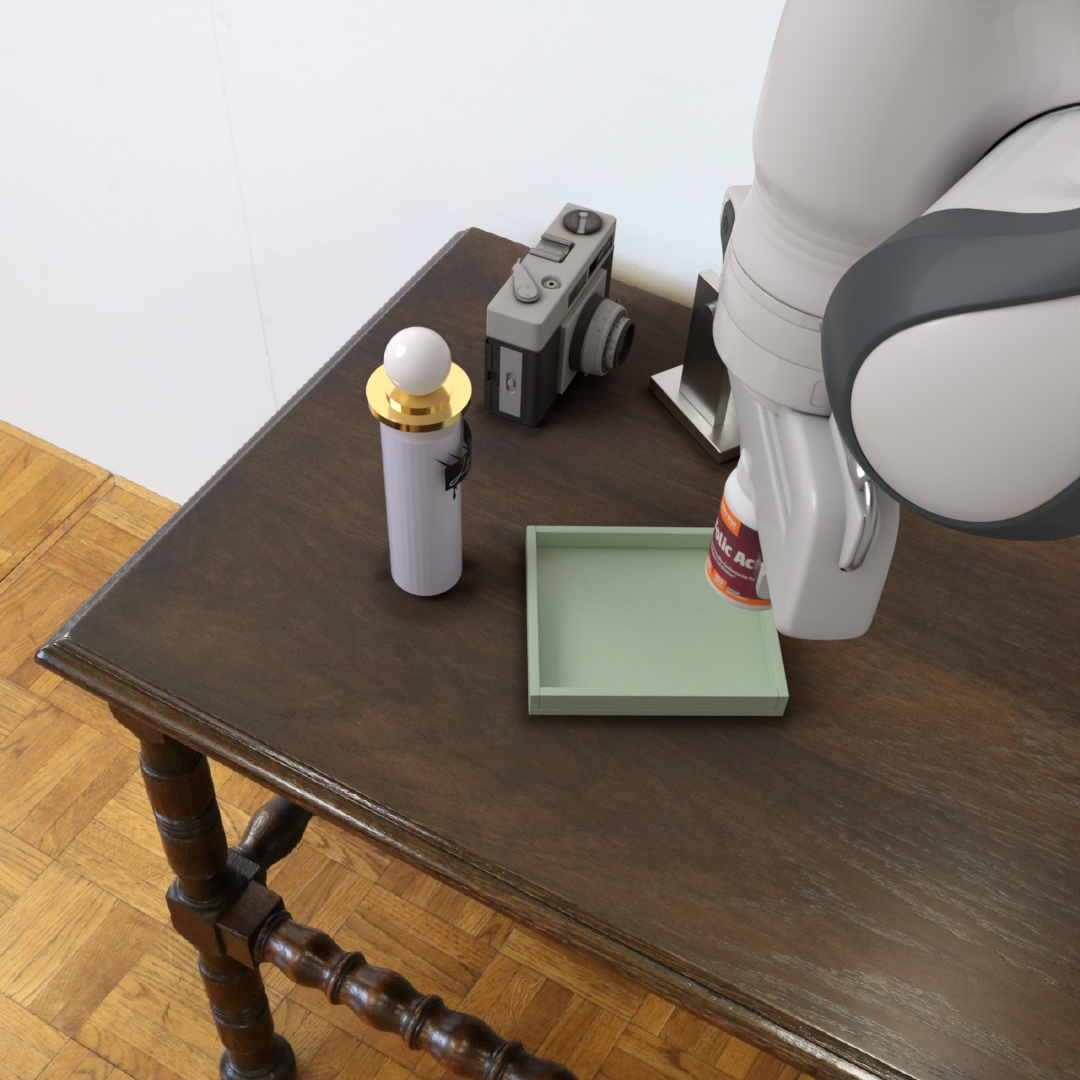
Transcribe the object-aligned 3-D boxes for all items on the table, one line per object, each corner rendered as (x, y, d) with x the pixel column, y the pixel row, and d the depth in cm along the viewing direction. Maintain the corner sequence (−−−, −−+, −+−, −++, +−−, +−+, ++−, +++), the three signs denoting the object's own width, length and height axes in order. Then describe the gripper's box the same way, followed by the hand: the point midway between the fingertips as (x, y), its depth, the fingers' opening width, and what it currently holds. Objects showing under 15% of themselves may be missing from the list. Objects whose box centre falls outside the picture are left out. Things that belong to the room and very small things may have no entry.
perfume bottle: (371, 601, 80) (347, 360, 65) (396, 535, 84) (379, 292, 68) (459, 618, 79) (456, 379, 64) (480, 550, 83) (482, 309, 68)
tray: (753, 548, 84) (758, 527, 82) (782, 716, 75) (789, 696, 74) (525, 546, 83) (526, 525, 82) (528, 715, 75) (530, 695, 73)
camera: (583, 447, 90) (593, 338, 82) (479, 410, 92) (480, 301, 84) (653, 333, 98) (668, 225, 91) (557, 302, 100) (564, 194, 93)
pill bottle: (684, 574, 63) (711, 456, 57) (744, 526, 65) (776, 407, 59) (759, 630, 61) (795, 515, 55) (818, 579, 63) (859, 462, 57)
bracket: (796, 432, 92) (831, 302, 83) (717, 464, 89) (745, 334, 80) (724, 359, 97) (749, 229, 88) (648, 388, 94) (666, 257, 85)
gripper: (970, 505, 44) (869, 721, 54) (857, 171, 57) (793, 396, 68) (791, 502, 43) (724, 720, 54) (719, 166, 57) (677, 393, 67)
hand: (762, 537), depth 61 cm, fingers closed on pill bottle, 5 cm apart
